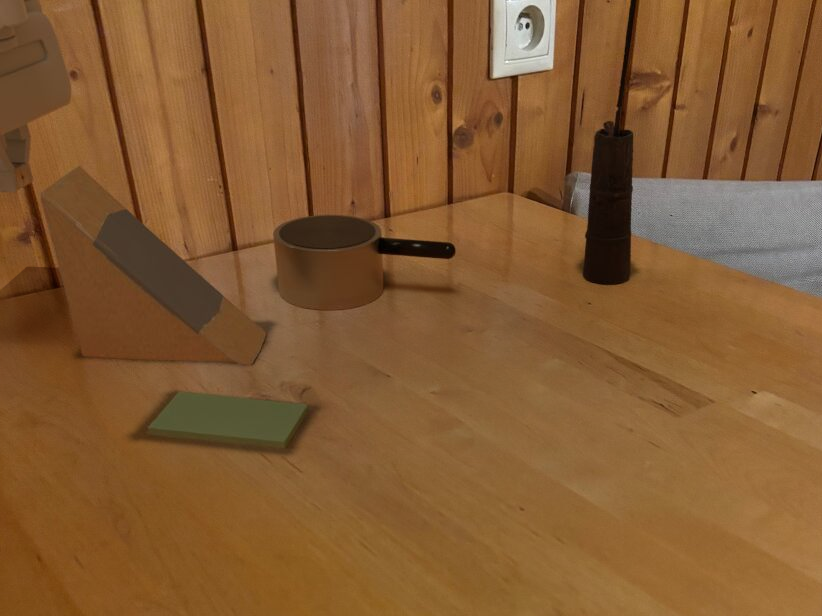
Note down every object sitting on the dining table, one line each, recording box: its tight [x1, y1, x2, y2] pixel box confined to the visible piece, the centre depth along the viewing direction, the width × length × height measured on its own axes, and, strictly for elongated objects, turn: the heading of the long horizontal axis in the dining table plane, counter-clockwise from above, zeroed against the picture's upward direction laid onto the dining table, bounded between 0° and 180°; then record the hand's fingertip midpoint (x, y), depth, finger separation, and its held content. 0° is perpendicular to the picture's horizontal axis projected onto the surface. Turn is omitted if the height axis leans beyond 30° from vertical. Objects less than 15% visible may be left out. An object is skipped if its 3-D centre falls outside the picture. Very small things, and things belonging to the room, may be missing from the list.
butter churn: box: [582, 0, 637, 285], centre depth 95 cm, size 9×10×28 cm
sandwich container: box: [40, 165, 268, 366], centre depth 83 cm, size 9×15×15 cm, turn 86°
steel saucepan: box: [272, 214, 457, 311], centre depth 97 cm, size 19×11×6 cm, turn 80°
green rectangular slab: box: [147, 391, 309, 449], centre depth 75 cm, size 12×7×2 cm, turn 80°
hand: (16, 187), depth 81 cm, fingers closed
